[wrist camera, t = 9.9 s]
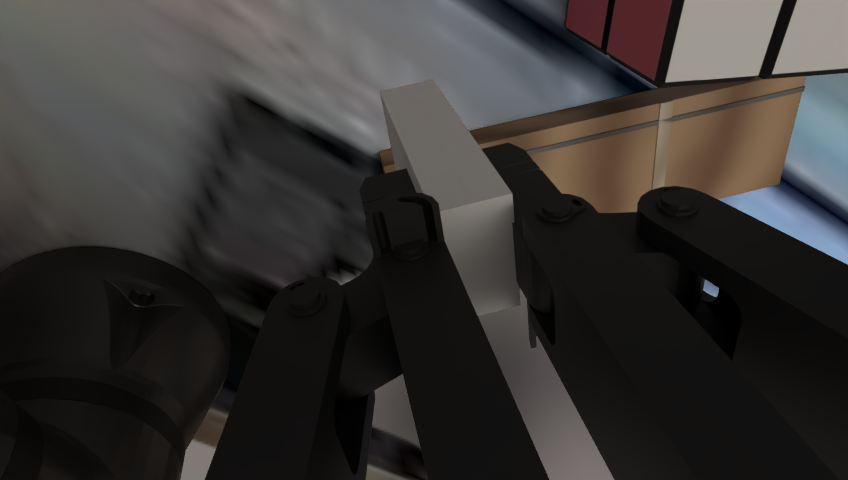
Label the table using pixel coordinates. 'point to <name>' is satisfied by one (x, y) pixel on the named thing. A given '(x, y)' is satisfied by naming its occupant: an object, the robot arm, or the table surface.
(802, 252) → the robot arm
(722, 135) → the brown wooden plank
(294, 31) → the table surface
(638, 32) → the puzzle cube
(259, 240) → the table surface
